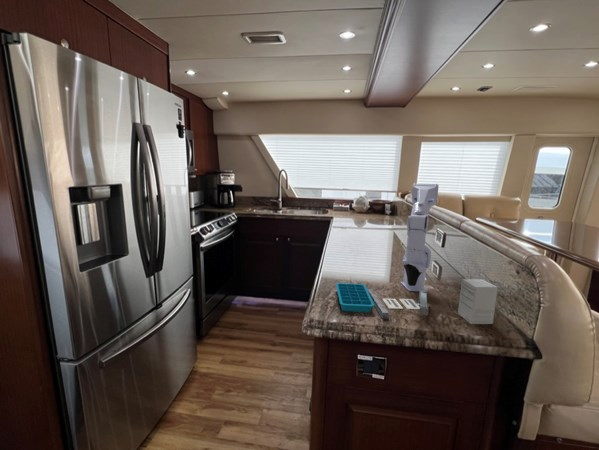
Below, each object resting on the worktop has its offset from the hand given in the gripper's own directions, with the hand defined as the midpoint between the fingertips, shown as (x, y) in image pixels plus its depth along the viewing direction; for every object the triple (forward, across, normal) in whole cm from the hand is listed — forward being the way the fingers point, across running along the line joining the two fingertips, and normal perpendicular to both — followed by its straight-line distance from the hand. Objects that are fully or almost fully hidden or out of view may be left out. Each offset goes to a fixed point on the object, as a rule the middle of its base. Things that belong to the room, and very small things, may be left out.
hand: (411, 285), depth 101 cm
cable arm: (+7, +6, +2) cm, 9 cm away
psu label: (+7, 0, -6) cm, 10 cm away
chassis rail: (+7, +1, -12) cm, 15 cm away
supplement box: (+8, +10, +18) cm, 22 cm away
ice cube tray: (+8, -3, -20) cm, 22 cm away
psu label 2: (+7, 0, 0) cm, 7 cm away
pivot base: (+7, 0, +4) cm, 9 cm away
